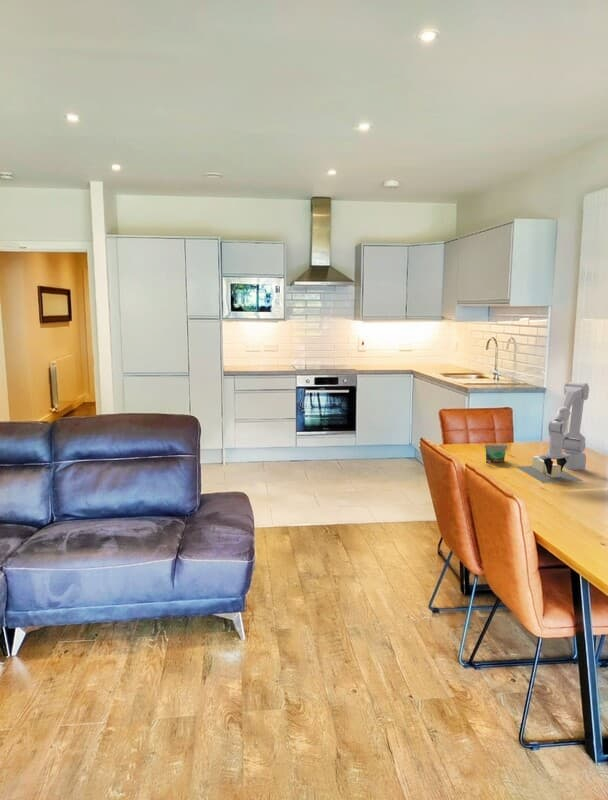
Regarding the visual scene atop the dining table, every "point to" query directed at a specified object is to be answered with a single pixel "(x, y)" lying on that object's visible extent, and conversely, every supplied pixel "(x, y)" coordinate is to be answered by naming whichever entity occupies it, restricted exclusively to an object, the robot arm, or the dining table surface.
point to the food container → (495, 453)
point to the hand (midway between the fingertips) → (553, 473)
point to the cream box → (539, 464)
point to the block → (555, 471)
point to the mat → (545, 478)
